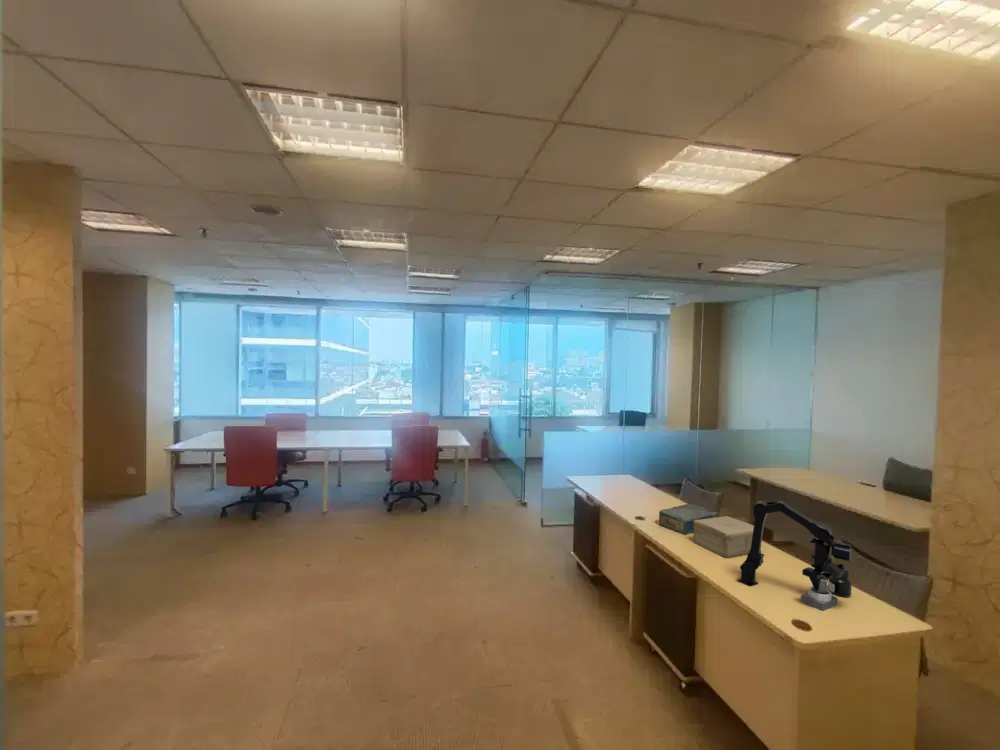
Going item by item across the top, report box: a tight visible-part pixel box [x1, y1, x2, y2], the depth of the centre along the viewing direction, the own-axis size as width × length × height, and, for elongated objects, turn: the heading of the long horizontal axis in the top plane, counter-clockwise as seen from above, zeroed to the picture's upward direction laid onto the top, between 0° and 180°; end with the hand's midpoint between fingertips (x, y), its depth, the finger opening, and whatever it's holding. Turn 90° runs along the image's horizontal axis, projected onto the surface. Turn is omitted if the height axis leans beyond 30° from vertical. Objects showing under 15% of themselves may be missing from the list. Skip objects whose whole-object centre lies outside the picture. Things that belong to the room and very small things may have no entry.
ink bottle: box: [827, 566, 853, 598], centre depth 228 cm, size 10×9×12 cm
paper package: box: [693, 515, 754, 559], centre depth 280 cm, size 27×26×14 cm
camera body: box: [800, 585, 839, 612], centre depth 218 cm, size 12×9×6 cm
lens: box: [813, 575, 828, 595], centre depth 218 cm, size 5×5×7 cm
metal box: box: [658, 503, 719, 536], centre depth 314 cm, size 21×32×10 cm, turn 122°
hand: (819, 589), depth 218 cm, fingers closed on lens, 5 cm apart
